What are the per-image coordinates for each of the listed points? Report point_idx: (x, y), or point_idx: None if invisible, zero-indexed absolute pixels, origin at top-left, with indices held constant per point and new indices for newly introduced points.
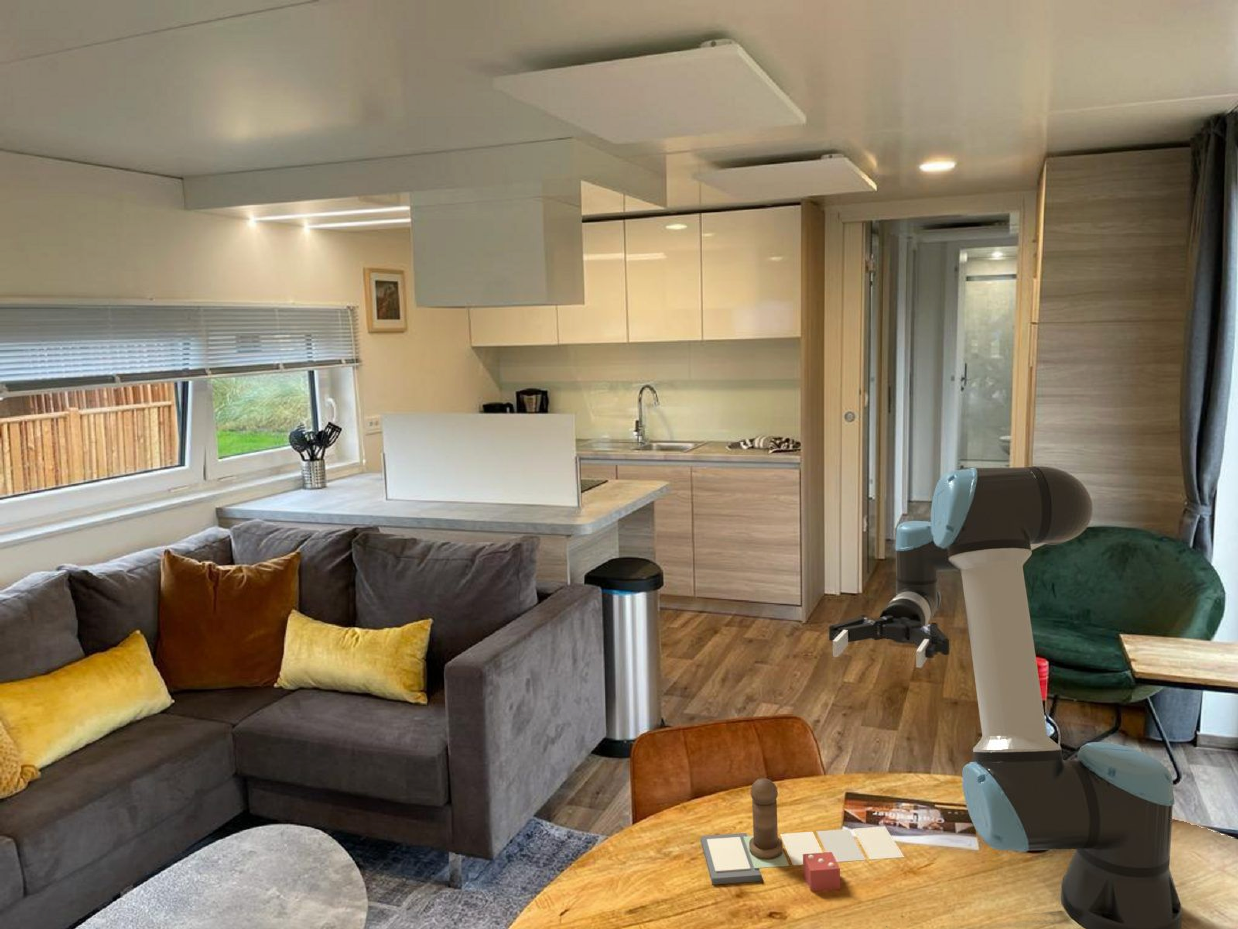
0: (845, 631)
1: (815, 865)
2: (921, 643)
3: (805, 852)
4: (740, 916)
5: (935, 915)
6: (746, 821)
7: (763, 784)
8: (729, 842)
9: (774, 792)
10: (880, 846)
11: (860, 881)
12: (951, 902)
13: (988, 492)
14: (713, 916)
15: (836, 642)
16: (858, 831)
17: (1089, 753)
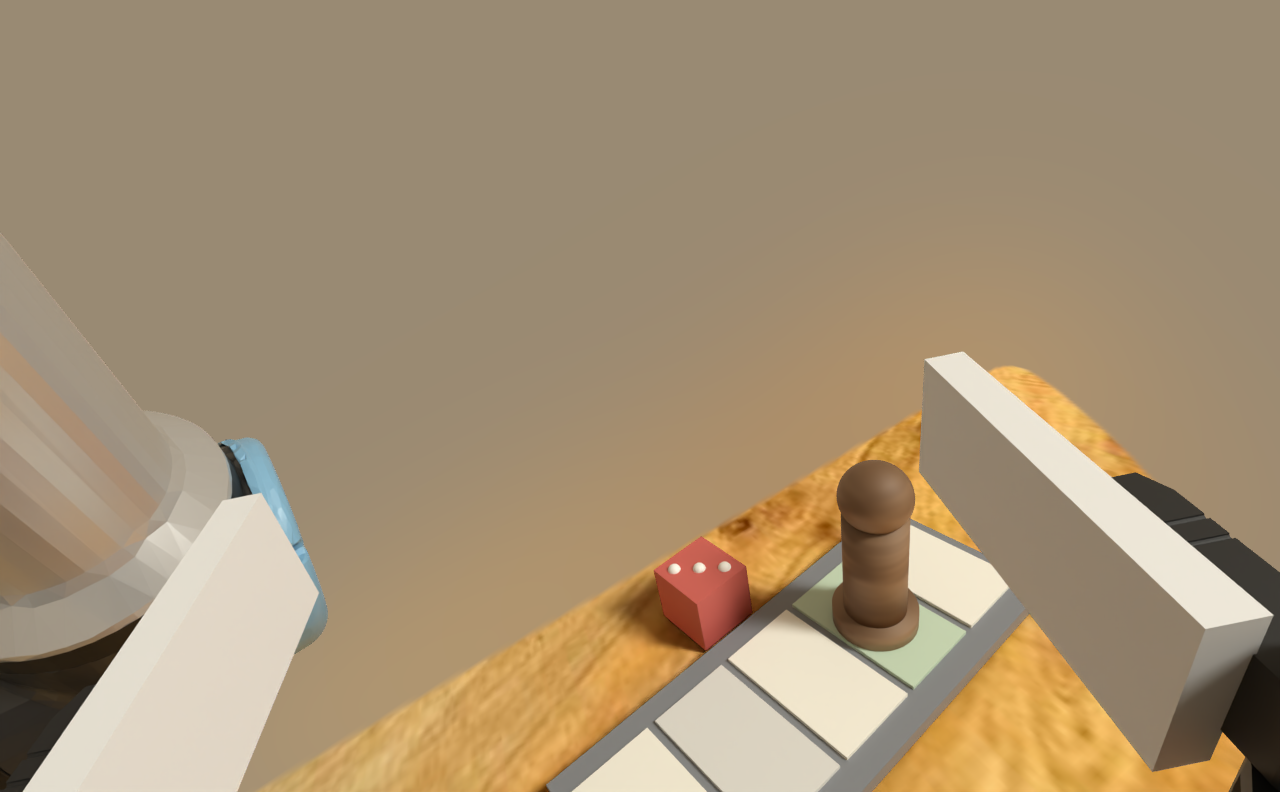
0: (1158, 565)
1: (701, 551)
2: (149, 668)
3: (795, 662)
4: (782, 496)
5: (479, 674)
6: (1076, 746)
7: (863, 462)
8: (966, 594)
9: (838, 488)
10: None
11: (650, 685)
12: (450, 732)
13: None
14: (817, 476)
15: (928, 364)
16: None
17: None
